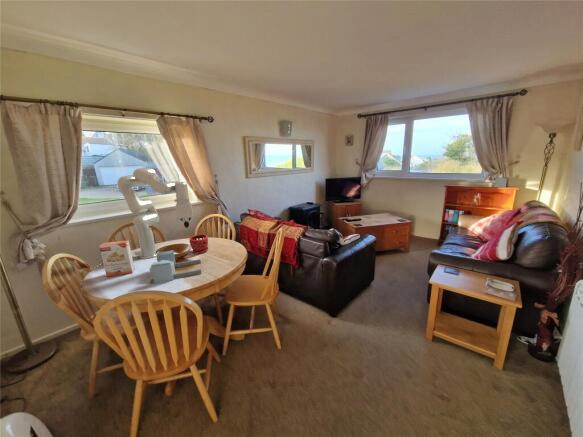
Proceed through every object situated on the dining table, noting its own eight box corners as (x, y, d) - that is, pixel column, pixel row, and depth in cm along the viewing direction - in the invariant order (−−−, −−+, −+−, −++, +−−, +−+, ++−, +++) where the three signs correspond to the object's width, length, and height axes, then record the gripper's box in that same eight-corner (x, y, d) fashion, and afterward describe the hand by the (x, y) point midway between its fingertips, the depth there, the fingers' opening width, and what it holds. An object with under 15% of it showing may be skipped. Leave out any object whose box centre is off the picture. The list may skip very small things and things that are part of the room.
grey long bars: (150, 283, 137) (150, 279, 136) (155, 270, 153) (154, 266, 152) (201, 273, 147) (201, 270, 146) (200, 262, 163) (200, 259, 162)
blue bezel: (154, 283, 136) (150, 265, 133) (159, 268, 155) (156, 252, 152) (173, 280, 140) (170, 262, 137) (175, 265, 158) (173, 250, 155)
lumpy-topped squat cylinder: (153, 273, 149) (151, 260, 147) (176, 269, 153) (174, 257, 151) (150, 280, 140) (148, 267, 137) (174, 276, 144) (172, 263, 142)
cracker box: (106, 277, 145) (98, 246, 139) (110, 273, 150) (102, 242, 145) (132, 273, 149) (125, 242, 144) (135, 269, 154) (128, 239, 149)
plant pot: (197, 247, 189) (195, 233, 186) (212, 248, 187) (210, 234, 183) (187, 254, 177) (185, 239, 174) (203, 255, 174) (201, 240, 171)
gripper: (170, 202, 148) (174, 230, 153) (195, 200, 153) (198, 227, 158) (171, 200, 155) (175, 227, 159) (195, 199, 160) (198, 224, 165)
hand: (186, 227), depth 159 cm, fingers closed
